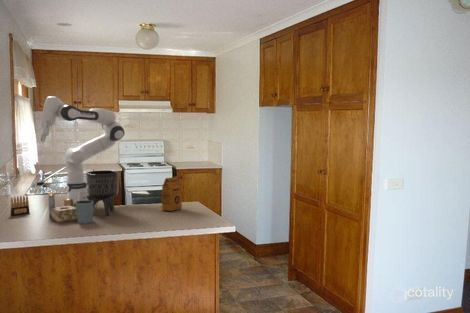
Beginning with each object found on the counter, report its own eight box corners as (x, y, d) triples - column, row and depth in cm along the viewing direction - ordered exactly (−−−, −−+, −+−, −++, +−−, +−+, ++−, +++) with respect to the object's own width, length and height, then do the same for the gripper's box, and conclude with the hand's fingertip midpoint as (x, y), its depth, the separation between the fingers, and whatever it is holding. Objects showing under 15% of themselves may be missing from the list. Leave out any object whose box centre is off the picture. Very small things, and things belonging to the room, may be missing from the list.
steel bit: (54, 216, 264) (53, 193, 262) (56, 217, 261) (55, 194, 260) (48, 217, 261) (47, 194, 260) (50, 218, 259) (49, 195, 257)
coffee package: (184, 209, 285) (183, 176, 283) (170, 212, 275) (169, 178, 273) (173, 207, 291) (173, 175, 289) (159, 210, 281) (159, 177, 279)
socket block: (69, 216, 263) (69, 205, 262) (77, 219, 255) (77, 208, 254) (51, 219, 255) (51, 208, 254) (58, 222, 247) (58, 211, 246)
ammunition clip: (11, 216, 264) (10, 197, 263) (10, 215, 265) (9, 196, 264) (29, 213, 271) (28, 195, 270) (28, 213, 272) (28, 194, 271)
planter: (102, 209, 285) (101, 169, 283) (125, 211, 277) (125, 171, 274) (80, 214, 268) (79, 173, 265) (104, 218, 259) (103, 175, 257)
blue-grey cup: (83, 224, 244) (82, 203, 243) (72, 222, 249) (71, 202, 248) (97, 221, 252) (97, 201, 251) (86, 218, 258) (85, 199, 256)
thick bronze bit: (71, 213, 271) (71, 198, 270) (75, 215, 267) (74, 199, 266) (62, 215, 267) (62, 199, 266) (66, 216, 263) (65, 200, 262)
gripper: (54, 122, 268) (48, 143, 268) (51, 121, 286) (46, 141, 286) (43, 119, 265) (38, 141, 265) (41, 119, 283) (36, 139, 283)
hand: (42, 141), depth 275 cm, fingers open, 8 cm apart
